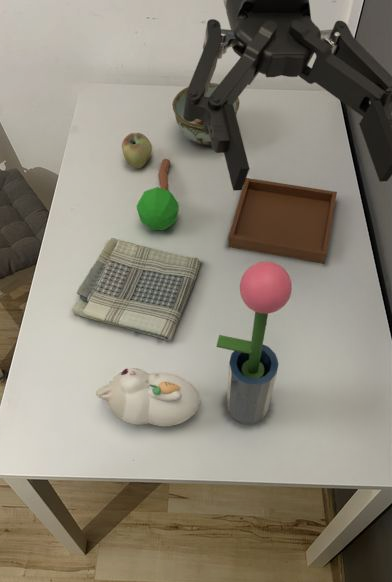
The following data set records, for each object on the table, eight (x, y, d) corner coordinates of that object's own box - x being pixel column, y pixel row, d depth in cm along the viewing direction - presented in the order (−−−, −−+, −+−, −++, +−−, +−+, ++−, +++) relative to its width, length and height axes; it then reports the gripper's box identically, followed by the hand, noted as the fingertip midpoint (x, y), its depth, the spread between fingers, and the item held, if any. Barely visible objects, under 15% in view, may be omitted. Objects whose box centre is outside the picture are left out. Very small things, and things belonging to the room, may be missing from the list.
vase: (271, 391, 78) (281, 347, 65) (263, 429, 75) (273, 389, 62) (232, 383, 78) (235, 337, 66) (223, 419, 75) (225, 379, 63)
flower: (267, 392, 77) (299, 255, 49) (261, 423, 74) (290, 298, 46) (220, 381, 78) (225, 242, 50) (212, 412, 75) (213, 283, 47)
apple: (155, 147, 106) (152, 122, 101) (151, 173, 102) (148, 149, 97) (127, 146, 106) (123, 122, 101) (122, 172, 103) (117, 148, 97)
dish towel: (203, 263, 90) (203, 251, 88) (171, 345, 82) (170, 335, 79) (109, 241, 94) (106, 229, 91) (69, 318, 85) (64, 307, 83)
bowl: (187, 112, 112) (185, 77, 105) (245, 122, 109) (247, 88, 102) (166, 151, 105) (163, 118, 98) (227, 164, 103) (228, 130, 96)
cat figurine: (204, 378, 69) (95, 368, 68) (199, 436, 69) (89, 426, 68) (201, 372, 78) (104, 363, 77) (196, 423, 78) (100, 414, 78)
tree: (153, 181, 106) (141, 241, 93) (143, 147, 100) (129, 206, 88) (188, 176, 105) (181, 236, 92) (180, 141, 99) (172, 200, 86)
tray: (334, 201, 97) (337, 191, 95) (323, 263, 90) (326, 254, 87) (245, 187, 99) (245, 177, 97) (228, 246, 92) (228, 236, 90)
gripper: (361, 31, 54) (424, 194, 48) (133, 31, 50) (168, 212, 43) (397, -42, 47) (476, 136, 41) (136, -51, 43) (177, 150, 36)
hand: (318, 175), depth 42 cm, fingers open, 13 cm apart
